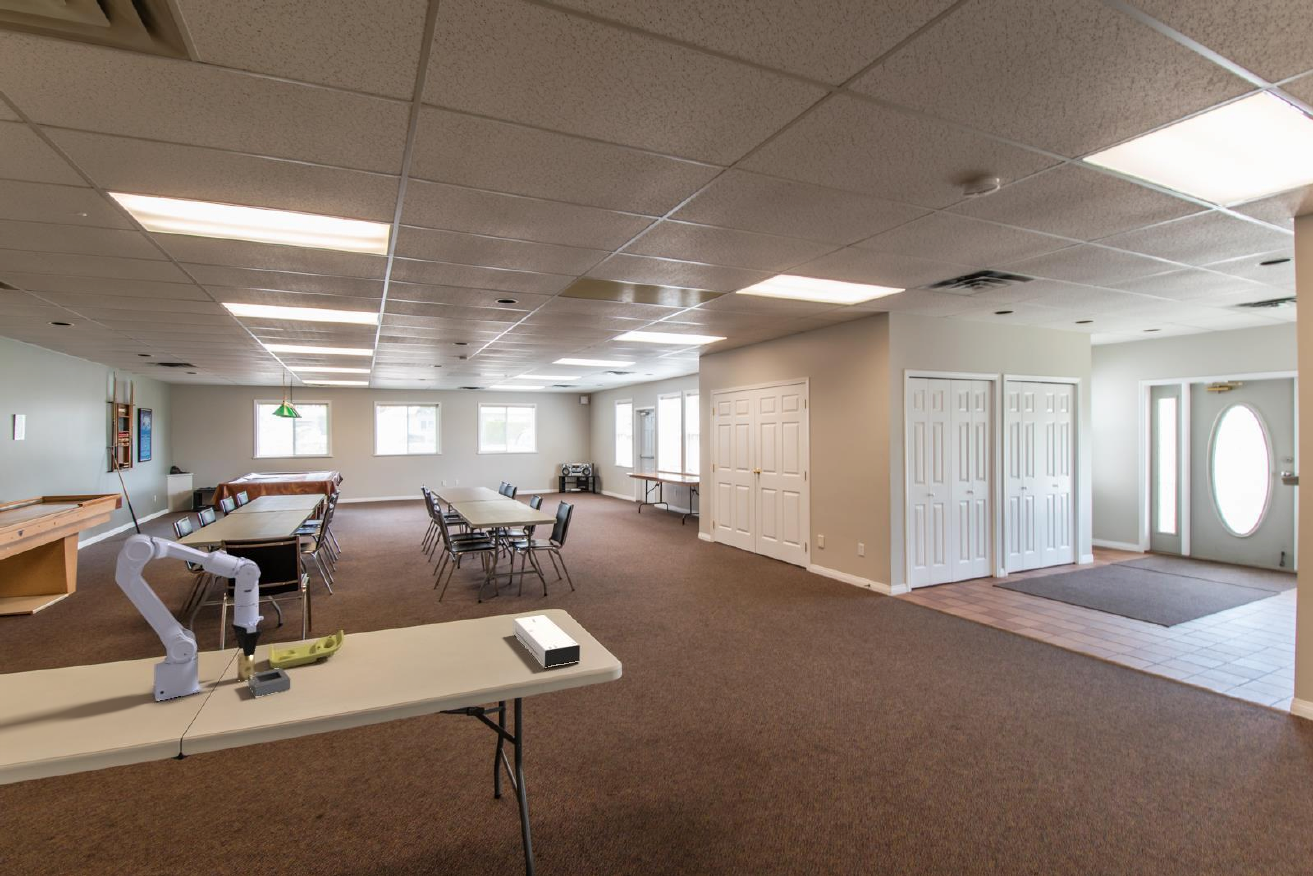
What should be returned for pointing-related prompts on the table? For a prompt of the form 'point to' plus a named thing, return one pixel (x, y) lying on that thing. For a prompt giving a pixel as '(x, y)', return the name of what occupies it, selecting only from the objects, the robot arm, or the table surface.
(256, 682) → the frame
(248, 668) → the gold metal cylinder
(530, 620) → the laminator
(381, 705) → the table surface
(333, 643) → the plastic component
